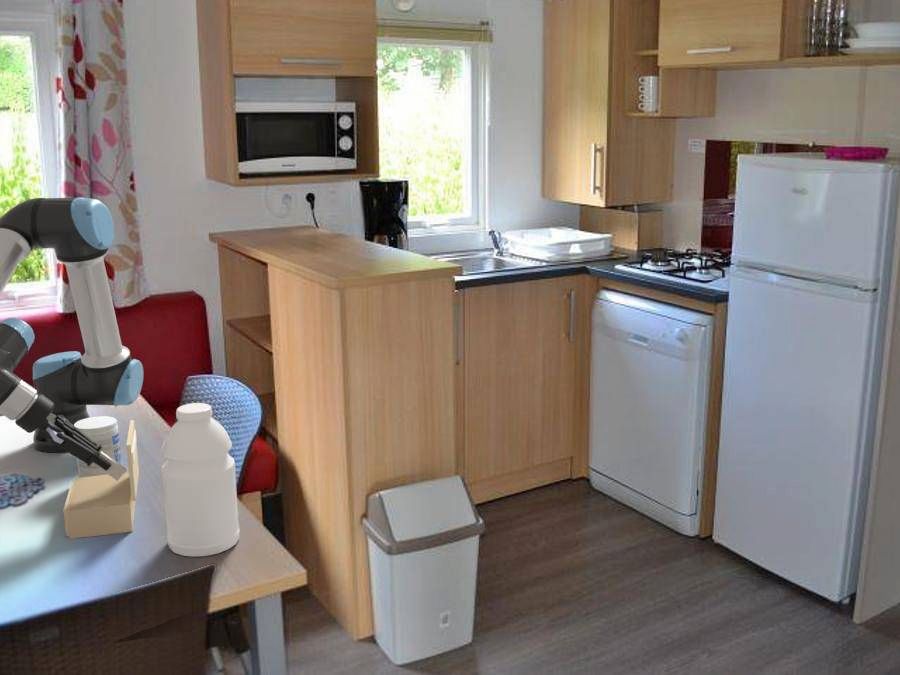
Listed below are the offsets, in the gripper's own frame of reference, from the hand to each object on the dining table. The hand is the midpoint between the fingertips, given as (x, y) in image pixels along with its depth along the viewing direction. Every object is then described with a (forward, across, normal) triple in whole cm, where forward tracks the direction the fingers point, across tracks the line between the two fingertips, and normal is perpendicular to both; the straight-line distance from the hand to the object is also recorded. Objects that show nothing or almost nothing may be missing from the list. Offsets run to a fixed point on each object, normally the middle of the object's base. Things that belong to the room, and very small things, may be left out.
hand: (121, 474), depth 197 cm
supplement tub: (+4, -21, -10) cm, 24 cm away
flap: (+4, 0, 0) cm, 4 cm away
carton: (+4, -1, -10) cm, 10 cm away
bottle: (+17, +19, +4) cm, 25 cm away
